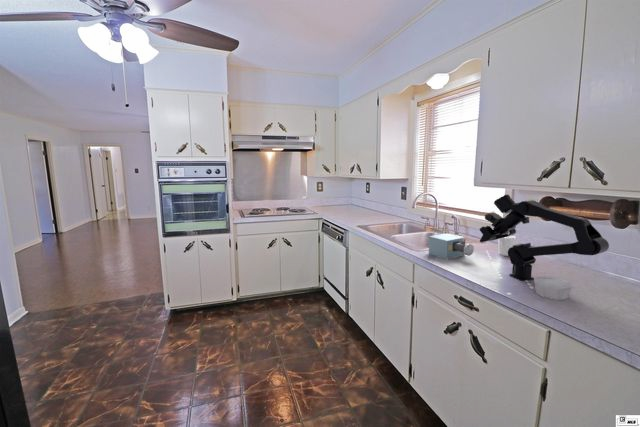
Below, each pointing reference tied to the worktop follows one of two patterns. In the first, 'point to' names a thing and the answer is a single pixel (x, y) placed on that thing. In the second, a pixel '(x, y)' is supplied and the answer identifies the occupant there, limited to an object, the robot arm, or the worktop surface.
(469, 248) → the plug
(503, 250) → the white cup
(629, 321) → the worktop surface
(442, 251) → the socket block
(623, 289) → the worktop surface
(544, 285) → the ramekin
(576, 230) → the robot arm
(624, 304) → the worktop surface
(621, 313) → the worktop surface
